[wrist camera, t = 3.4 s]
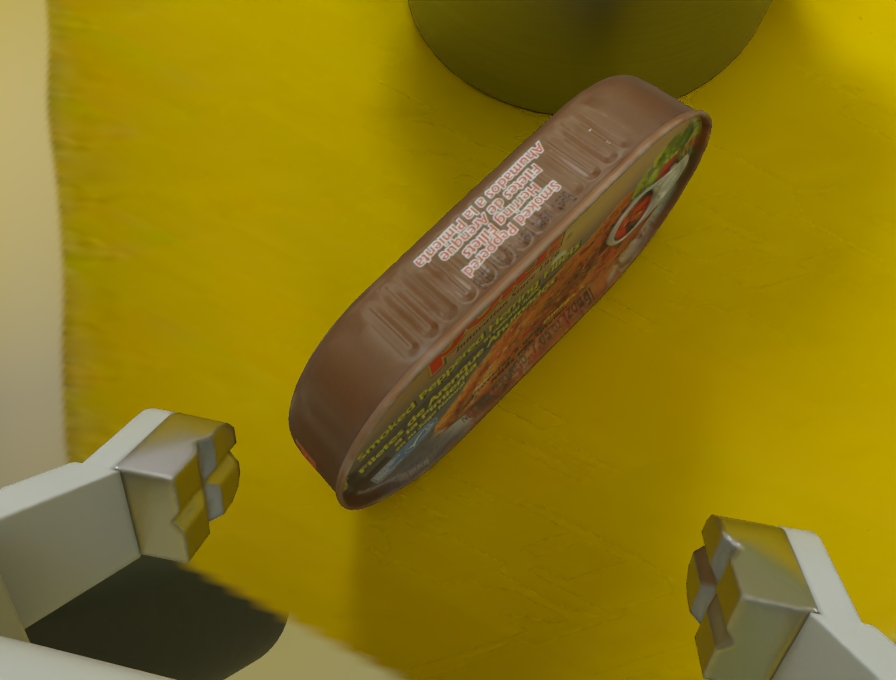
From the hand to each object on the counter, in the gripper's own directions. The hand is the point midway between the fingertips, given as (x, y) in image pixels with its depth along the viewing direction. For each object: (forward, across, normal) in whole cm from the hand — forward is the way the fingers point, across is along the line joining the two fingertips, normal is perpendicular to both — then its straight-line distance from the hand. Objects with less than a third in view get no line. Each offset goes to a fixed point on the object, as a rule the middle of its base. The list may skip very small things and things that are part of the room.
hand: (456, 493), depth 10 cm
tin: (+12, 0, +3) cm, 12 cm away
